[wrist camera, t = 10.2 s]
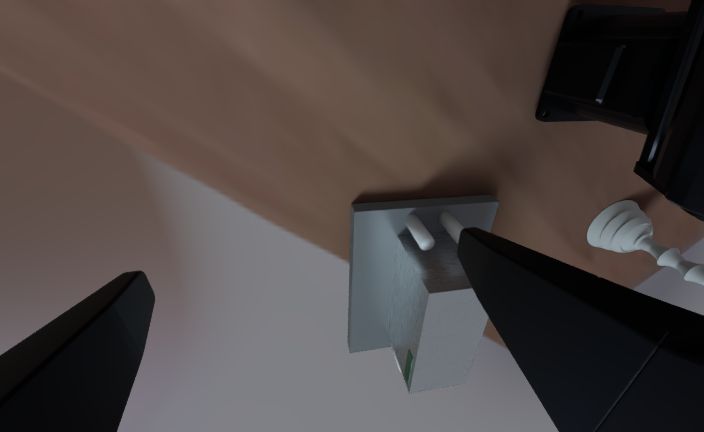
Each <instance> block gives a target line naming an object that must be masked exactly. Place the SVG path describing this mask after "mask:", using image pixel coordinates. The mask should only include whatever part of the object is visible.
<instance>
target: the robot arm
mask: <svg viewBox="0 0 704 432" xmlns="http://www.w3.org/2000/svg"><path fill="white" fill-rule="evenodd" d="M576 12H578V15H577V17H576V19H575V14H576ZM545 111H546V113H545V115H544V116H543V113H544V112H545ZM535 117H536V119H537V120H539V121H542V122H558V121H600V122H604V123H607V124H611V125H614V126H618V127H621V128H625V129H628V130H632V131H635V132H639V133H642V134H646V135H647V138H646V141H645V144H644V147H643V150H642V153H641V156H640V159H639V161H637V162H636V165H635V168H634V172H635V173H636V174H637V175H639V176H640V177H641V178H642V179H644V180H645V181H646V182H648V183H649V184H650V185H652V186H653V187H654V188H655V189H657V190H658V191H659V192H661V193H662V194H663V195H665V198H667V199H668V200H669V201H670V202H671V203H673V204H675V205H677V206H679V207H680V208H681V209H683V210H684V211H686V212H687V213H689V214H691V215H692V216H695V217H696V218H698V219H699V220H701V221H704V0H692V1H691V4H690V7H689V10H688V11H686V12H665V10H664V9H662V8H644V7H624V6H605V5H585V4H581V5H574V6H572V7H571V8H570V9H569V10H568V12H567V14H566V17H565V20H564V24H563V27H562V30H561V33H560V36H559V40H558V43H557V46H556V49H555V52H554V56H553V59H552V62H551V65H550V68H549V72H548V75H547V78H546V81H545V84H544V88H543V91H542V94H541V97H540V100H539V104H538V107H537V110H536V114H535ZM457 256H458V259H459V261H460V263H461V265H462V267H463V269H464V271H465V274H466V276H467V278H468V280H469V282H470V284H471V286H472V288H473V290H474V293H475V294H476V296H477V298H478V300H479V302H480V304H481V305H482V307H483V309H484V310H485V312H486V313H487V315H488V317H489V318H490V320H491V322H492V323H493V325H494V326H495V328H496V330H497V331H498V333H499V335H500V336H501V338H502V340H503V341H504V343H505V344H506V346H507V348H508V349H509V351H510V353H511V354H512V356H513V357H514V359H515V361H516V362H517V364H518V366H519V367H520V369H521V370H522V372H523V374H524V375H525V377H526V379H527V380H528V382H529V384H530V385H531V387H532V388H533V390H534V392H535V393H536V395H537V397H538V398H539V400H540V401H541V403H542V405H543V406H544V408H545V410H546V411H547V413H548V414H549V416H550V418H551V419H552V421H553V423H554V424H555V426H556V428H557V429H558V431H559V432H704V315H701V314H698V313H695V312H692V311H689V310H686V309H684V308H681V307H678V306H675V305H672V304H669V303H667V302H664V301H661V300H658V299H656V298H653V297H650V296H647V295H644V294H642V293H639V292H637V291H634V290H631V289H629V288H626V287H624V286H621V285H619V284H616V283H614V282H611V281H609V280H606V279H604V278H601V277H599V278H598V276H596V275H594V274H591V273H589V272H586V271H584V270H581V269H579V268H576V267H574V266H571V265H569V264H566V263H564V262H561V261H559V260H556V259H554V258H551V257H549V256H546V255H544V254H541V253H539V252H537V251H534V250H532V249H529V248H527V247H524V246H522V245H519V244H517V243H514V242H512V241H509V240H507V239H504V238H502V237H499V236H497V235H494V234H492V233H489V232H487V231H484V230H482V229H479V228H477V227H469V228H463V229H462V230H461V232H460V236H459V242H458V247H457ZM154 303H155V295H154V292H153V290H152V288H151V285H150V283H149V281H148V279H147V277H146V275H145V273H144V272H143V271H131V272H126V273H123V274H121V275H119V276H118V277H117V278H115V279H114V280H112V281H111V282H109V283H108V284H106V285H105V286H103V287H102V288H100V289H99V290H97V291H96V292H94V293H93V294H91V295H90V296H88V297H87V298H85V299H84V300H82V301H81V302H79V303H78V304H76V305H75V306H73V307H72V308H70V309H69V310H68V311H66V312H64V313H63V314H61V315H60V316H58V317H57V318H56V319H54V320H52V321H51V322H49V323H48V324H47V325H45V326H44V327H42V328H41V329H39V330H38V331H36V332H35V333H33V334H32V335H30V336H29V337H27V338H26V339H24V340H23V341H21V342H20V343H18V344H17V345H15V346H14V347H12V348H11V349H9V350H8V351H6V352H5V353H3V354H2V355H0V432H117V430H118V427H119V424H120V421H121V418H122V415H123V412H124V409H125V406H126V404H127V401H128V398H129V395H130V392H131V389H132V386H133V383H134V380H135V377H136V374H137V372H138V369H139V366H140V363H141V360H142V356H143V353H144V349H145V344H146V339H147V335H148V331H149V326H150V322H151V317H152V312H153V308H154Z"/></svg>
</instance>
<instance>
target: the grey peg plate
mask: <svg viewBox="0 0 704 432" xmlns="http://www.w3.org/2000/svg"><path fill="white" fill-rule="evenodd" d="M498 205H499V201H498V200H497V199H496V198H494V197H493V196H492V195H491V194H490V195H475V196H461V197H446V198H431V199H416V200H402V201H387V202H372V203H357V204H351V233H350V271H349V272H350V274H349V308H348V347H349V351H350V353H353V352H360V351H367V350H373V349H379V348H386V347H392V350H393V353H394V356H395V359H396V362H397V365H398V368H399V371H400V372H401V369H400V366H399V363H398V360H397V357H396V355H395V352H394V349H393V346H392V343H391V340H390V337H389V334H388V332H387V329H386V327H387V319H388V310H389V301H390V293H391V284H392V276H393V267H394V259H395V250H396V241H397V236H402V235H413V237H414V238H415V240H416V241H417V243H418V245H419V246H420V248H421V249H422V250H429V249H431V248H432V247H433V246H434V244H435V241H434V239H433V237H432V236H431V235H430V233H436V232H448V233H449V234H450V235H451V237H452V238H453V239H454V240H455V241H456V243H457V244H458V242H459V236H460V232H461V230H462V229H463V228H469V227H477V228H479V229H482V230H484V231H487V232H489V233H490V232H491V229H492V226H493V222H494V219H495V216H496V212H497V209H498Z"/></svg>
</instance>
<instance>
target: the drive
mask: <svg viewBox="0 0 704 432" xmlns="http://www.w3.org/2000/svg"><path fill="white" fill-rule="evenodd" d="M430 235H431V236H432V237H433V239H434V241H435V244H434V246H433V247H432V248H431V249H429V250H422V249H421V248H420V246H419V245H418V243H417V241H416V240H415V238H414V237H413V235H402V236H397V241H396V250H395V259H394V267H393V276H392V284H391V293H390V301H389V310H388V319H387V327H386V329H387V332H388V334H389V337H390V340H391V343H392V346H393V349H394V352H395V355H396V357H397V360H398V363H399V366H400V369H401V372H402V375H403V377H404V380H405V383H406V386H407V389H408V392H409V394H410V393H416V392H421V391H427V390H432V389H438V388H443V387H449V386H455V385H460V384H465V383H466V380H467V377H468V374H469V371H470V369H471V366H472V363H473V360H474V357H475V354H476V351H477V349H478V346H479V343H480V340H481V337H482V334H483V331H484V329H485V326H486V323H487V320H488V315H487V313H486V312H485V310H484V309H483V307H482V305H481V304H480V302H479V300H478V298H477V296H476V294H475V293H474V290H473V288H472V286H471V284H470V282H469V280H468V278H467V276H466V274H465V271H464V269H463V267H462V265H461V263H460V261H459V259H458V256H457V247H458V244H457V243H456V241H455V240H454V239H453V238H452V237H451V235H450V234H449V233H448V232H436V233H430Z"/></svg>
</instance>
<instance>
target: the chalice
mask: <svg viewBox="0 0 704 432" xmlns="http://www.w3.org/2000/svg"><path fill="white" fill-rule="evenodd" d="M652 233H653V226H652V222H651V220H650V219H649V218H647V217H646V215H645V213H644V212H643V211H642V210H640V208H639V206H638V204H637V203H636V202H634V201H631V200H624V201H620V202H616V203H614V204H612V205H610V206H608V207H607V208H606V209H605V210H603V211H602V212H601V213H600V214H599V215H598V216H597V217H596V218H595V219H594V220H593V222H592V223H591V225H590V227H589V229H588V233H587V240H588V242H589V243H590V245H592V246H594V247H602V248H604V249H606V250H613V251H615V252H632V251H635V250H640V249H642V250H645V251H648V252H650V253H651V254H652V255H653V256H654V257H655V258H656V259H657V264H658V265H660V266H665V265H668V266H671V267H674V268H676V269H678V271H679V272H680V273H681V274H682V275H683V277H684V279H685V280H686V281H694V282H696V283H699V284H701V285H703V286H704V264H696V263H693V262H689V261H686V260H685V259H684V258H683V257H682V256H681V255H680V251H679V249H678V248H666V247H664V246H661V245H658V244H657V243H656V242H655V241H654V240H652Z"/></svg>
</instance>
